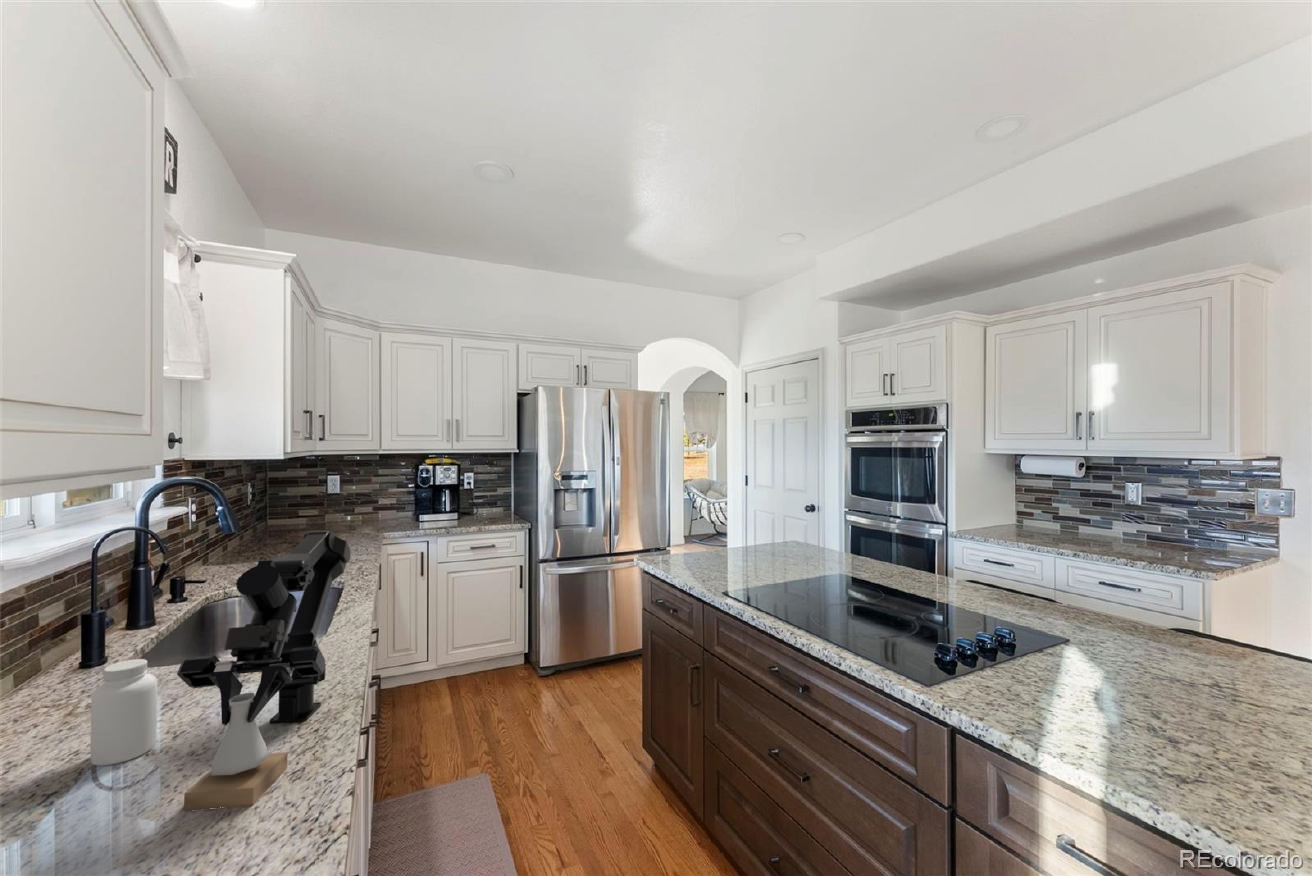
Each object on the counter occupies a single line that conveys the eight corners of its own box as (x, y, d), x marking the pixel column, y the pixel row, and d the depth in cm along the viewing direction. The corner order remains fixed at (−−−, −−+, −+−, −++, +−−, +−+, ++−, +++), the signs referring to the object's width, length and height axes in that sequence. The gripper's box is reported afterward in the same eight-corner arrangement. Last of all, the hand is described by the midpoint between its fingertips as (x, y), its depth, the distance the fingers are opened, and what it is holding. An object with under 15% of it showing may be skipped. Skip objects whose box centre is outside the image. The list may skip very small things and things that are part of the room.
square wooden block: (225, 775, 84) (226, 756, 84) (287, 771, 85) (287, 752, 85) (183, 814, 75) (184, 793, 75) (252, 808, 76) (253, 787, 76)
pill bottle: (90, 753, 89) (93, 664, 89) (156, 735, 94) (158, 651, 95) (87, 774, 83) (90, 679, 83) (156, 753, 89) (159, 664, 89)
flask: (262, 770, 78) (263, 703, 78) (201, 782, 75) (203, 713, 75) (275, 745, 85) (276, 683, 85) (219, 755, 82) (221, 691, 82)
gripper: (185, 606, 81) (135, 712, 71) (320, 598, 87) (293, 695, 76) (211, 638, 89) (170, 738, 78) (334, 628, 94) (311, 721, 83)
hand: (236, 723), depth 79 cm, fingers closed on flask, 3 cm apart
